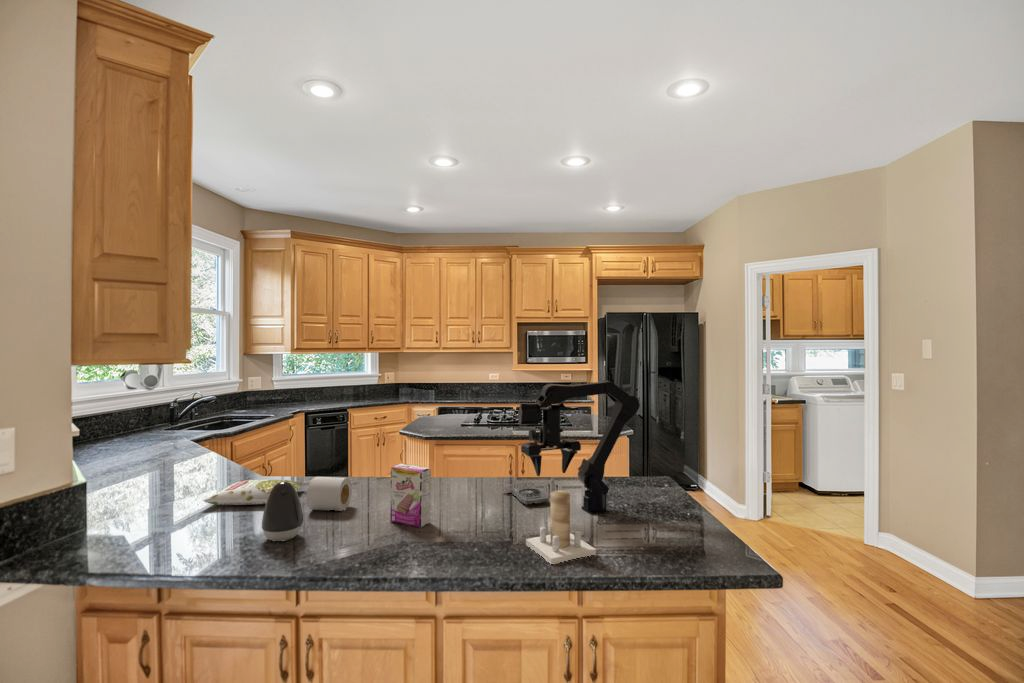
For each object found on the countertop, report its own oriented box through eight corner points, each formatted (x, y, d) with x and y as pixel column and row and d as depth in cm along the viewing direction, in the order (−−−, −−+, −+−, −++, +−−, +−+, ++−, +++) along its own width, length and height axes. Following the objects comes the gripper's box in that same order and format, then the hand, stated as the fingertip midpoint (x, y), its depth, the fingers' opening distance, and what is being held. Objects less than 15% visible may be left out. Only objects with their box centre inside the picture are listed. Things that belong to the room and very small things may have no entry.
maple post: (555, 538, 132) (555, 489, 132) (573, 542, 129) (573, 492, 129) (547, 545, 128) (547, 494, 128) (564, 549, 125) (564, 497, 125)
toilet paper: (351, 505, 162) (351, 474, 162) (337, 515, 152) (338, 482, 152) (322, 503, 163) (322, 473, 163) (306, 514, 153) (306, 481, 153)
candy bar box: (389, 522, 147) (389, 466, 147) (399, 517, 152) (400, 463, 152) (420, 528, 142) (421, 471, 142) (430, 523, 147) (431, 467, 147)
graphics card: (501, 484, 176) (533, 481, 180) (501, 495, 176) (533, 491, 180) (517, 499, 160) (551, 495, 164) (517, 511, 160) (551, 507, 164)
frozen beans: (284, 490, 158) (200, 492, 155) (283, 509, 157) (200, 510, 155) (305, 475, 178) (231, 476, 176) (304, 491, 178) (231, 492, 176)
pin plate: (567, 536, 137) (568, 518, 137) (595, 555, 126) (595, 535, 126) (525, 544, 132) (526, 525, 132) (551, 564, 120) (551, 544, 120)
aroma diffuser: (261, 548, 128) (262, 489, 128) (261, 534, 137) (261, 479, 137) (304, 541, 132) (305, 484, 132) (301, 528, 142) (301, 475, 142)
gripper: (563, 419, 168) (562, 465, 168) (513, 422, 159) (513, 471, 159) (582, 424, 158) (581, 473, 158) (529, 428, 149) (529, 480, 149)
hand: (551, 474), depth 156 cm, fingers open, 9 cm apart
